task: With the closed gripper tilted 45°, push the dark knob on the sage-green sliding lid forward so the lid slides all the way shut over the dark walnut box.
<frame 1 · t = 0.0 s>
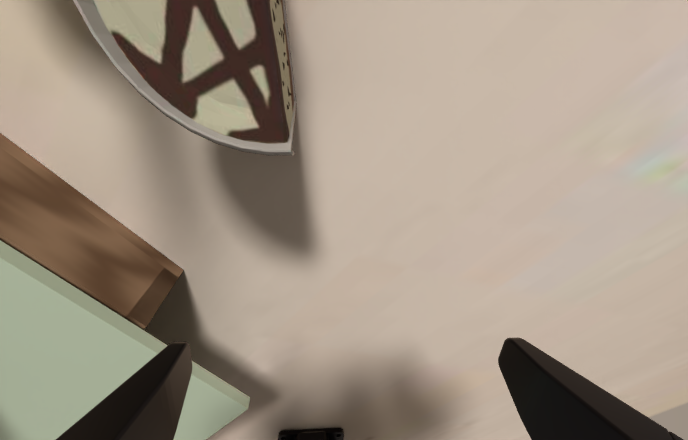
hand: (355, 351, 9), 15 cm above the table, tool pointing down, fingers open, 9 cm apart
food container: (232, 20, 18), on the table
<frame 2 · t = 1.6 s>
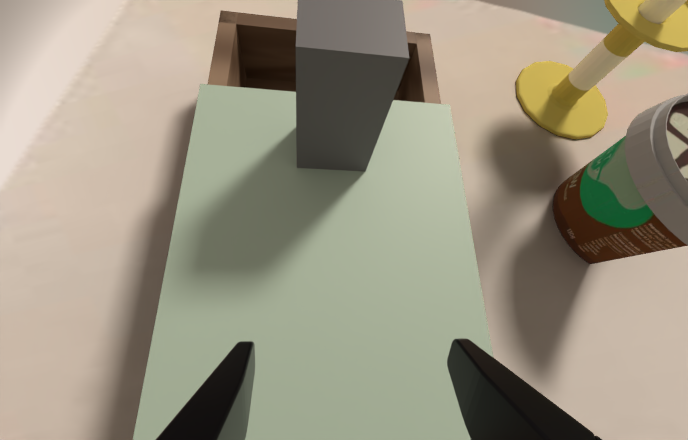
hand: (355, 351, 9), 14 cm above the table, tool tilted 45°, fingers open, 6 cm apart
candle: (559, 100, 34), on the table
food container: (572, 204, 29), on the table
lid: (340, 219, 13), point 11 cm above the table, slide at 8.0 cm
walnut box: (323, 176, 26), on the table
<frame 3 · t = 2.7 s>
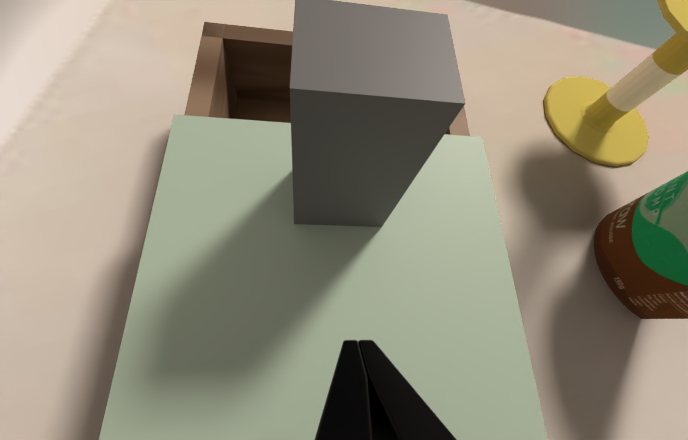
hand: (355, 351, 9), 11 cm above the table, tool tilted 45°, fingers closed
candle: (592, 121, 30), on the table
food container: (616, 244, 25), on the table
lid: (354, 323, 9), point 11 cm above the table, slide at 8.0 cm
walnut box: (326, 215, 22), on the table
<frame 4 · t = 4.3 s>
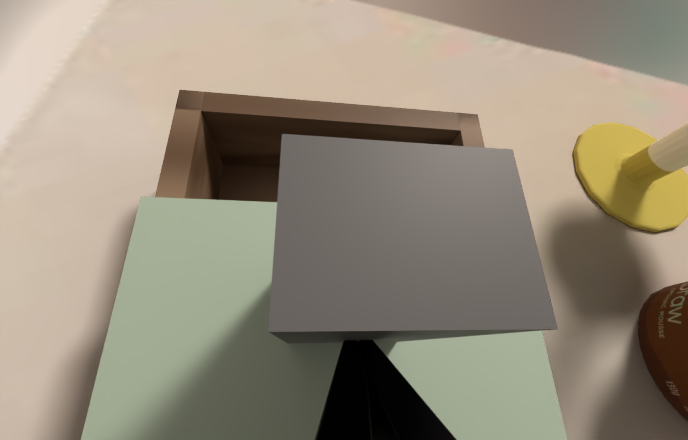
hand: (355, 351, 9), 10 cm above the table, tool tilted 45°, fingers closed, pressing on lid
candle: (628, 175, 26), on the table
food container: (662, 330, 21), on the table
walnut box: (327, 308, 19), on the table
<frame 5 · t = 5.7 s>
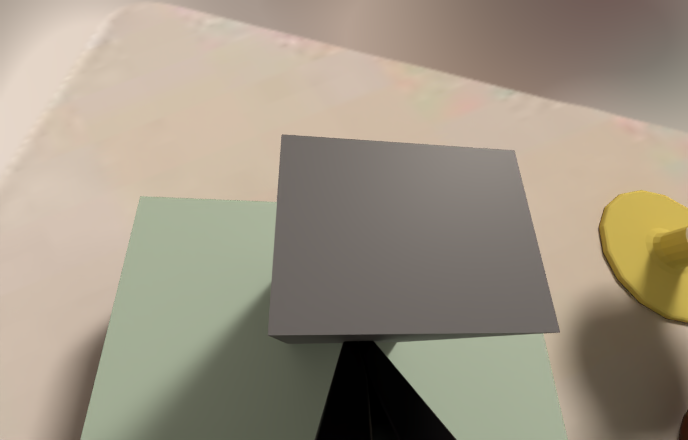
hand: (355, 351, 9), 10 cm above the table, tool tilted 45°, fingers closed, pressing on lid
candle: (660, 253, 24), on the table
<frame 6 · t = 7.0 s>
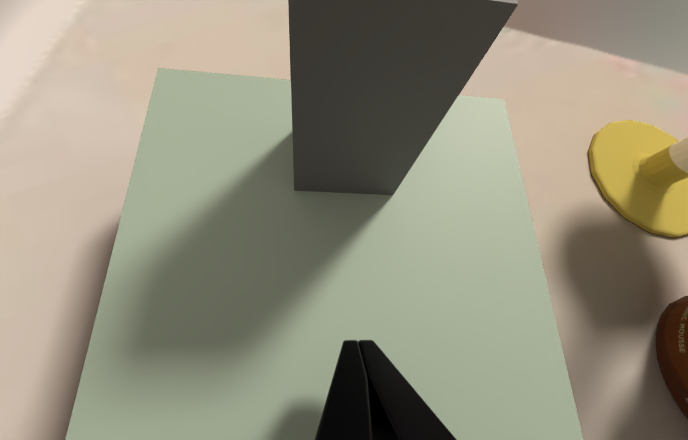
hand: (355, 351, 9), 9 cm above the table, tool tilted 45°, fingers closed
candle: (645, 176, 25), on the table
food container: (681, 342, 20), on the table
lid: (366, 296, 8), point 11 cm above the table, slide at 0.0 cm
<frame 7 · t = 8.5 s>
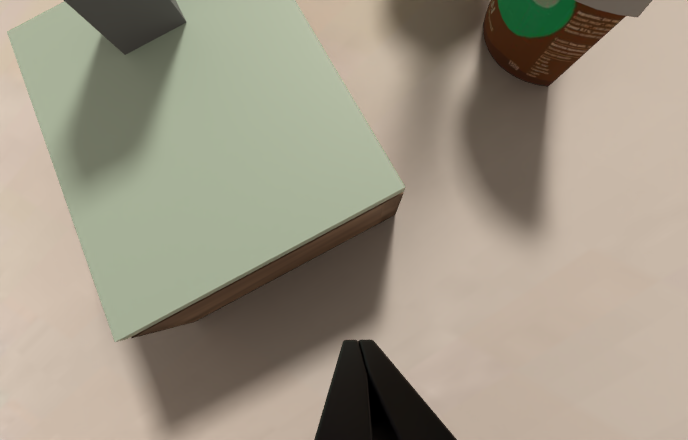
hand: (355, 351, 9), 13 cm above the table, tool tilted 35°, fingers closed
food container: (508, 28, 24), on the table
lid: (137, 56, 14), point 11 cm above the table, slide at 0.0 cm
walnut box: (238, 151, 24), on the table
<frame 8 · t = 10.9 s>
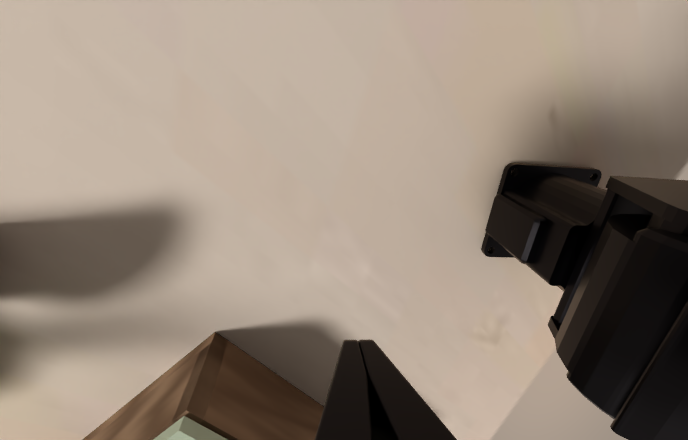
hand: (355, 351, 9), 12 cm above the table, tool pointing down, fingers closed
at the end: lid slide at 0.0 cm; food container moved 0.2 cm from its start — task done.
